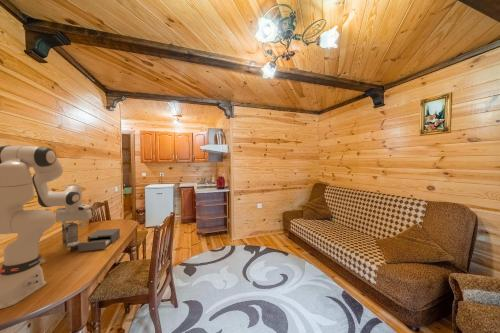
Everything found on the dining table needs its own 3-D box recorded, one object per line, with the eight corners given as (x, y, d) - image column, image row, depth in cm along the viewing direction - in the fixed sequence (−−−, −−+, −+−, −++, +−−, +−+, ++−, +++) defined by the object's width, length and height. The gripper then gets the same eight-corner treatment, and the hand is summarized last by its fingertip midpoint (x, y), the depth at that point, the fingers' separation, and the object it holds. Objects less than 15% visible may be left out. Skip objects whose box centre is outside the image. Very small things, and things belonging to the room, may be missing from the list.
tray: (105, 248, 134) (105, 241, 134) (78, 251, 130) (78, 243, 130) (113, 240, 147) (113, 234, 147) (89, 242, 143) (89, 235, 143)
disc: (77, 246, 131) (76, 243, 131) (65, 247, 129) (65, 244, 129) (82, 242, 138) (82, 239, 137) (71, 243, 136) (71, 240, 136)
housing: (111, 243, 144) (111, 234, 144) (87, 246, 140) (87, 236, 140) (119, 236, 158) (119, 228, 158) (97, 238, 154) (97, 230, 154)
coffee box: (62, 245, 141) (61, 224, 141) (73, 242, 147) (72, 221, 146) (67, 248, 137) (66, 226, 137) (78, 244, 143) (78, 223, 142)
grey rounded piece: (75, 251, 132) (75, 245, 132) (69, 251, 131) (69, 246, 131) (79, 248, 136) (79, 243, 136) (72, 249, 135) (72, 243, 135)
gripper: (52, 209, 127) (52, 229, 127) (88, 207, 132) (88, 227, 133) (59, 207, 133) (59, 226, 133) (93, 205, 138) (93, 224, 139)
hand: (74, 226), depth 133 cm, fingers open, 8 cm apart
